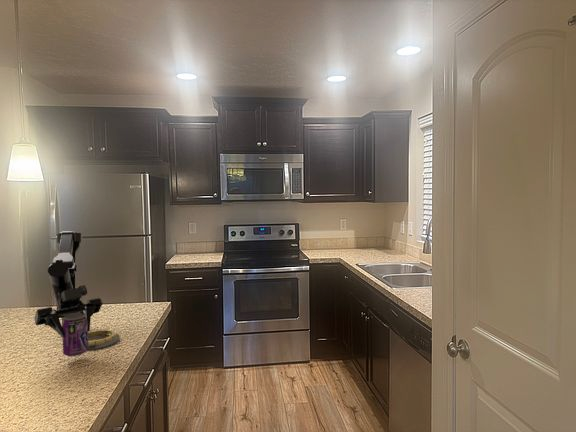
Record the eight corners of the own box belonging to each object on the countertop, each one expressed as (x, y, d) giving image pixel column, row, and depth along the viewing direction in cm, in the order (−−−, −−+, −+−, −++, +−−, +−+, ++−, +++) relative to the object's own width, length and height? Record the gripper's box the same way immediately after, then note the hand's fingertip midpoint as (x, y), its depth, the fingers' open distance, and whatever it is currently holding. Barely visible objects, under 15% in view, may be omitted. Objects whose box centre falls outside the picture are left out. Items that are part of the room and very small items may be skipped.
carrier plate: (62, 347, 134) (62, 339, 134) (98, 332, 148) (98, 326, 148) (94, 353, 129) (94, 345, 128) (128, 337, 142) (128, 331, 142)
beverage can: (77, 358, 119) (76, 320, 118) (57, 357, 120) (56, 319, 119) (93, 349, 125) (92, 313, 125) (74, 348, 127) (73, 312, 126)
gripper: (35, 283, 117) (46, 327, 110) (99, 273, 131) (113, 312, 124) (29, 303, 123) (40, 346, 116) (91, 292, 137) (104, 331, 130)
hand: (76, 333), depth 121 cm, fingers closed on beverage can, 7 cm apart
